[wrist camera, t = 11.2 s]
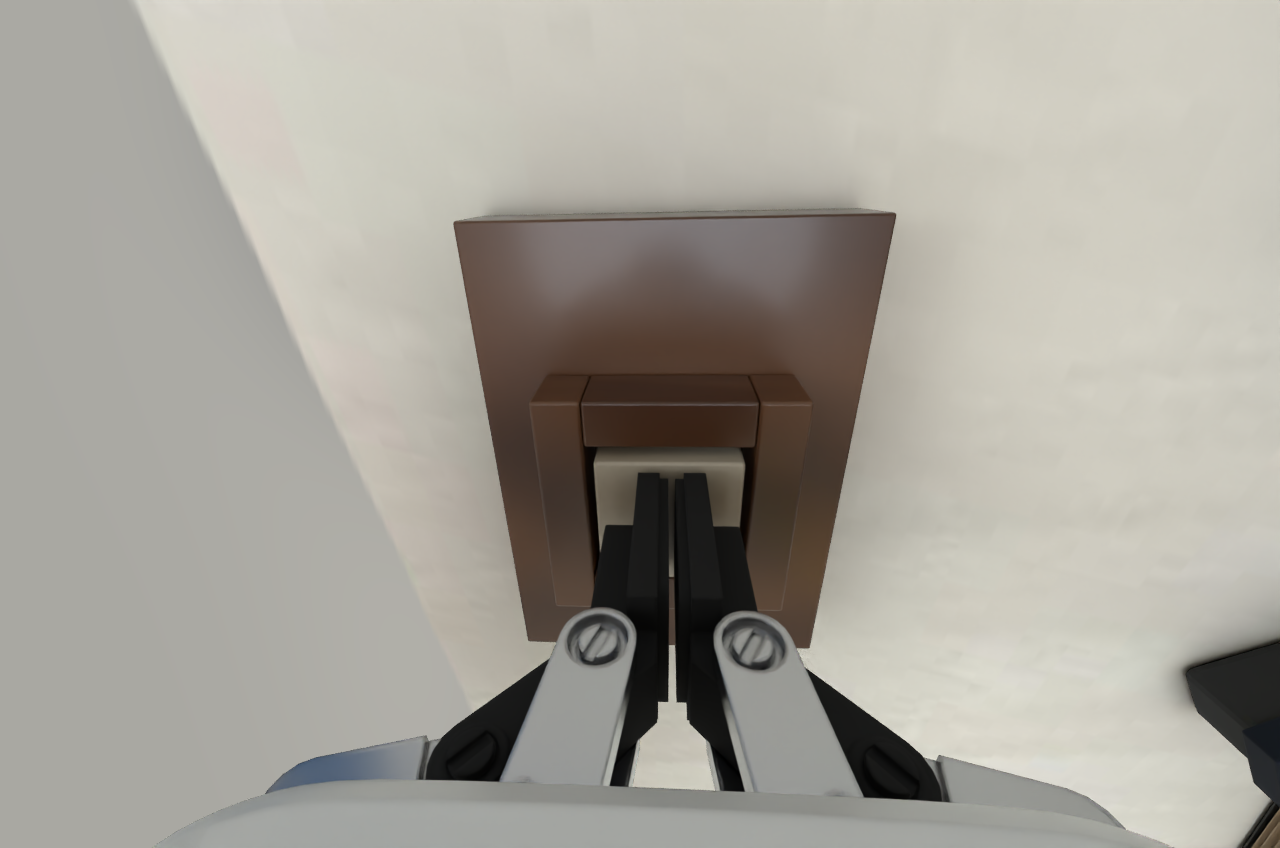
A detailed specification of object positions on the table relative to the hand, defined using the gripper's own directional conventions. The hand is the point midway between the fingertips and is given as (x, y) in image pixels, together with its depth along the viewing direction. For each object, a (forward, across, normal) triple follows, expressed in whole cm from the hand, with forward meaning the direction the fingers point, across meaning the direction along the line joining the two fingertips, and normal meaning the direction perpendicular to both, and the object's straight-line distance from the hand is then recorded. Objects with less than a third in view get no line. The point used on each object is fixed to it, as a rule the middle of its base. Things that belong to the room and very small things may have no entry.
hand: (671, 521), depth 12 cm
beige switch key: (+2, 0, 0) cm, 2 cm away
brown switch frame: (+4, 0, 0) cm, 4 cm away
